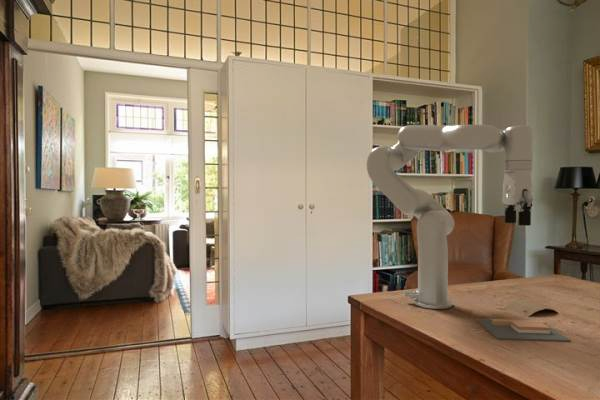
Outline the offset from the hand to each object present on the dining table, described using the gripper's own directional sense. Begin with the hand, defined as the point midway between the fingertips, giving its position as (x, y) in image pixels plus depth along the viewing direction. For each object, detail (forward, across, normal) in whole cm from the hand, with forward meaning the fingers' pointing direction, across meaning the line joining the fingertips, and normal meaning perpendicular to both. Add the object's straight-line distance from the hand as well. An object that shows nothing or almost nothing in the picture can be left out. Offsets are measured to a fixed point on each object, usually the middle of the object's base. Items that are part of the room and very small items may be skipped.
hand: (517, 224), depth 123 cm
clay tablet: (+29, -8, +8) cm, 31 cm away
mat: (+28, +12, -4) cm, 31 cm away
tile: (+27, +10, -2) cm, 29 cm away
